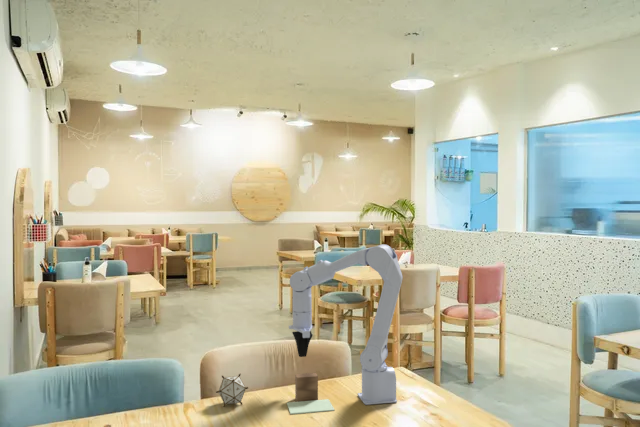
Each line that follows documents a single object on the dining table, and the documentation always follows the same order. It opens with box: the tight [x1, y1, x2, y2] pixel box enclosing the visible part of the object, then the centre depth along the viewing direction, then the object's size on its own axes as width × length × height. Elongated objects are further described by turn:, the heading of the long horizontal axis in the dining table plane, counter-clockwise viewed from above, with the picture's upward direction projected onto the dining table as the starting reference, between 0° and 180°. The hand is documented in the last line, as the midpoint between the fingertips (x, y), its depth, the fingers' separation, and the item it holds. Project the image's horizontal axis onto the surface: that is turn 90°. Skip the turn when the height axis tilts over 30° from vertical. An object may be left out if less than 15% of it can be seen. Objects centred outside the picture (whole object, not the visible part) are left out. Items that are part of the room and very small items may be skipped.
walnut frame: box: [294, 372, 319, 402], centre depth 143 cm, size 6×3×7 cm, turn 101°
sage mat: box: [286, 398, 335, 415], centre depth 137 cm, size 12×8×1 cm, turn 101°
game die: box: [215, 373, 249, 408], centre depth 140 cm, size 9×8×10 cm
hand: (302, 356), depth 150 cm, fingers closed
